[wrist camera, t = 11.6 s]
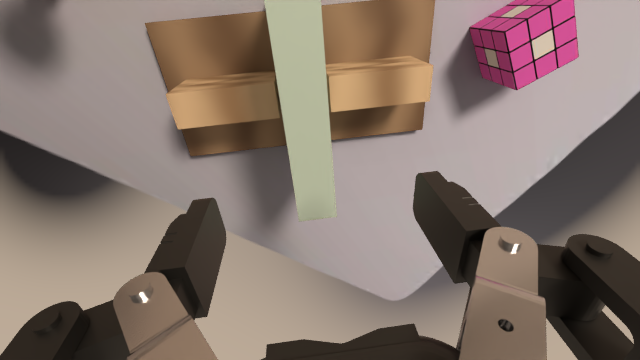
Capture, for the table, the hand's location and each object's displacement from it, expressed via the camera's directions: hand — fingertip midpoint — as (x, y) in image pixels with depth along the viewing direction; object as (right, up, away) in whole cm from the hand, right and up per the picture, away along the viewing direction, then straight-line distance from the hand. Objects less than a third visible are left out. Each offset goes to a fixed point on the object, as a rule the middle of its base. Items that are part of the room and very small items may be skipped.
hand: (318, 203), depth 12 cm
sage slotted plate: (-2, +11, +18) cm, 21 cm away
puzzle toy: (+19, +16, +19) cm, 31 cm away
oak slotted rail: (-2, +11, +19) cm, 22 cm away
